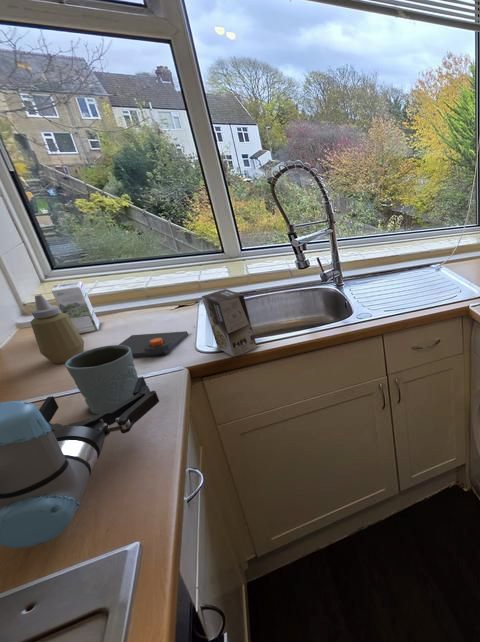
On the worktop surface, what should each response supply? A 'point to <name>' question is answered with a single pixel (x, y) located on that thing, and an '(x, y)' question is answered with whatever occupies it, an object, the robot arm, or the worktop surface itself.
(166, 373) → the worktop surface
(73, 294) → the syrup box
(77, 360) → the grey-green plant pot
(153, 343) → the tare button
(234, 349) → the coffee box
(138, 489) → the worktop surface
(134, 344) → the scale
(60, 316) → the squeeze bottle
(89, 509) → the worktop surface
